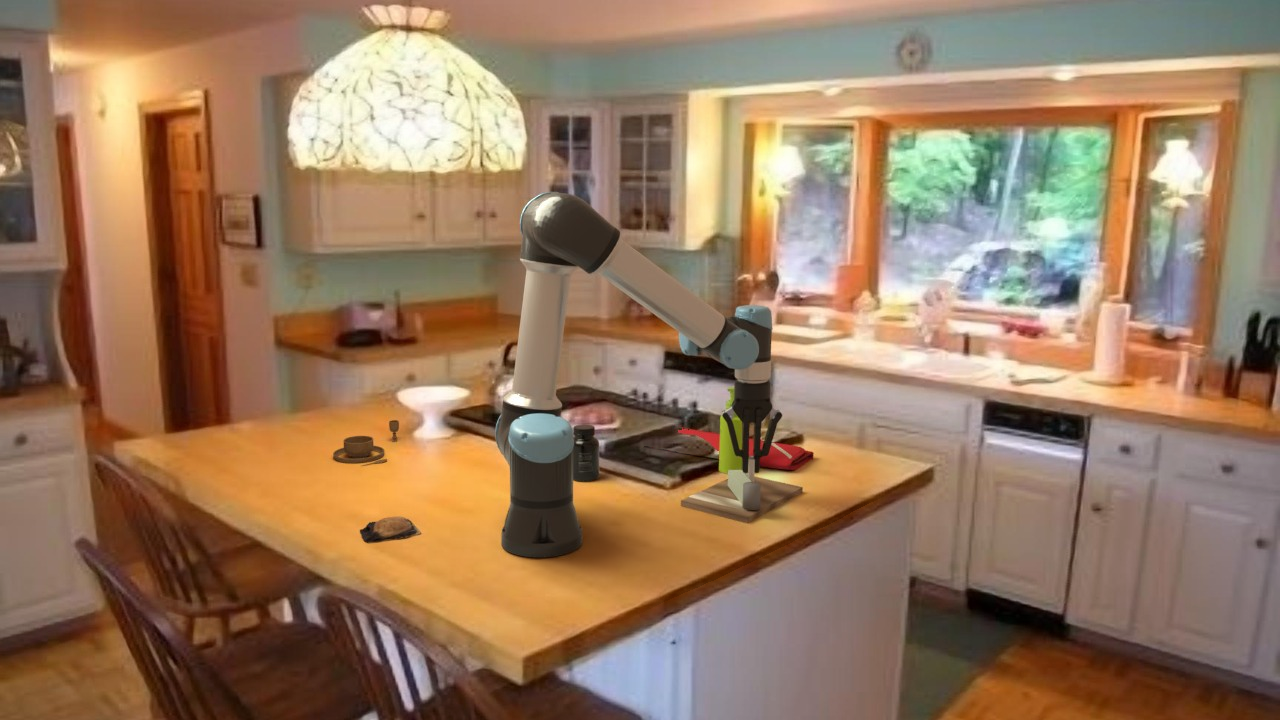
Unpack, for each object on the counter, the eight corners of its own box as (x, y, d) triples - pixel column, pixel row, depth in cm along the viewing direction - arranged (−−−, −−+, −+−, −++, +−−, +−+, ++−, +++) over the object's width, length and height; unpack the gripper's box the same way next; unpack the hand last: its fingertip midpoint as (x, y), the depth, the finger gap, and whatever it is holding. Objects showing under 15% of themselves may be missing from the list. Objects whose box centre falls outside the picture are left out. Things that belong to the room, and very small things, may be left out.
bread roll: (411, 524, 187) (411, 506, 186) (423, 538, 179) (423, 520, 179) (356, 533, 182) (356, 514, 181) (366, 547, 174) (366, 528, 174)
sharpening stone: (762, 509, 191) (763, 487, 191) (745, 510, 191) (745, 487, 190) (742, 485, 207) (743, 464, 206) (726, 485, 206) (726, 464, 205)
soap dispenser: (747, 475, 218) (750, 391, 215) (717, 473, 220) (719, 389, 216) (749, 468, 224) (752, 386, 220) (720, 466, 225) (722, 384, 222)
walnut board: (747, 523, 188) (747, 516, 188) (680, 505, 197) (680, 500, 197) (802, 492, 207) (802, 486, 207) (739, 478, 216) (739, 472, 216)
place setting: (321, 454, 232) (319, 431, 231) (396, 441, 245) (395, 419, 244) (350, 471, 219) (348, 447, 218) (428, 456, 232) (427, 433, 231)
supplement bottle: (604, 475, 217) (604, 425, 215) (590, 484, 211) (590, 432, 209) (578, 471, 220) (578, 421, 218) (563, 479, 214) (563, 428, 211)
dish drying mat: (670, 435, 254) (671, 421, 253) (814, 460, 233) (815, 445, 232) (640, 448, 241) (640, 434, 240) (789, 476, 220) (789, 461, 219)
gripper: (780, 375, 201) (777, 481, 206) (720, 375, 201) (718, 481, 206) (785, 383, 194) (782, 492, 198) (723, 383, 194) (722, 492, 198)
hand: (750, 486), depth 202 cm, fingers closed
